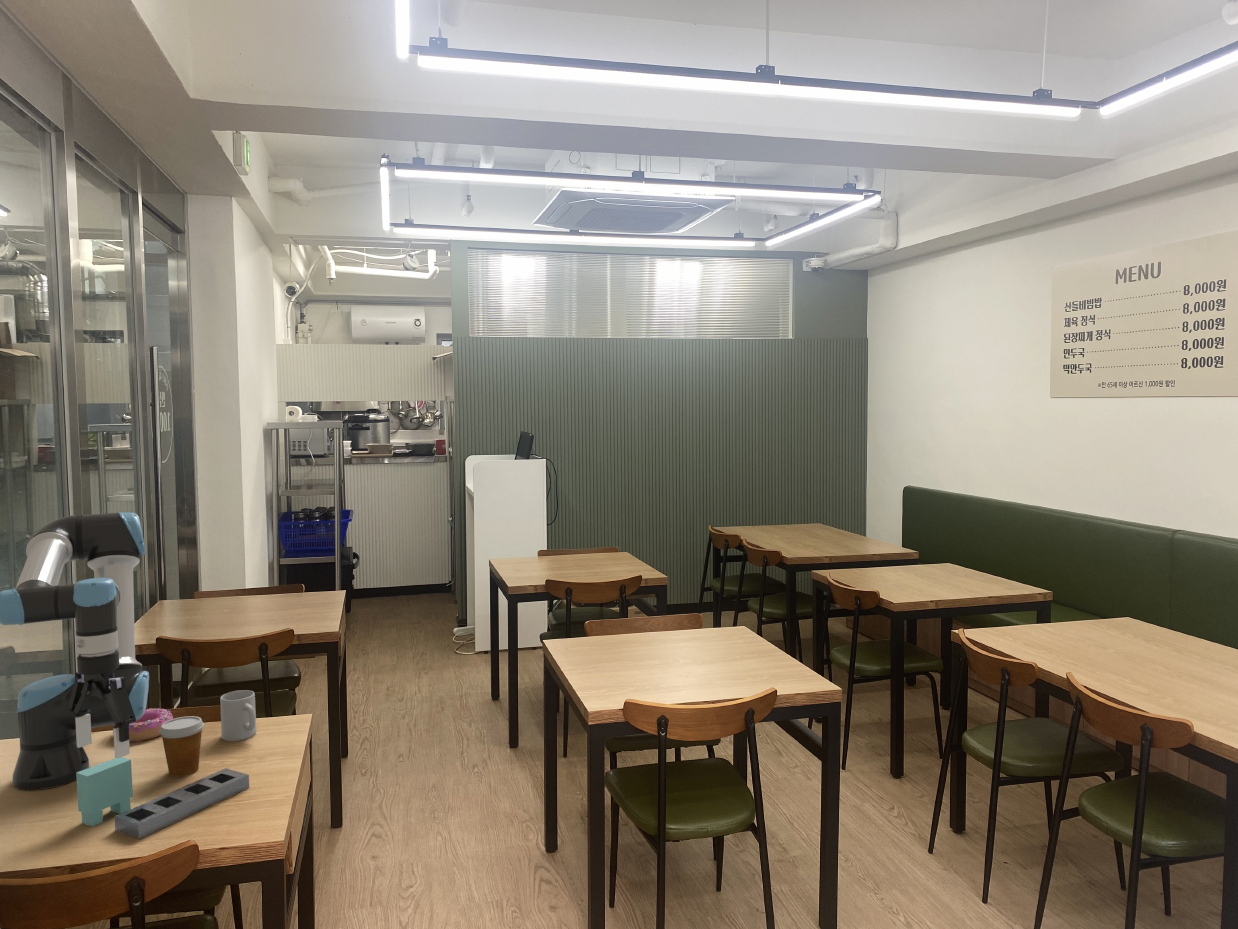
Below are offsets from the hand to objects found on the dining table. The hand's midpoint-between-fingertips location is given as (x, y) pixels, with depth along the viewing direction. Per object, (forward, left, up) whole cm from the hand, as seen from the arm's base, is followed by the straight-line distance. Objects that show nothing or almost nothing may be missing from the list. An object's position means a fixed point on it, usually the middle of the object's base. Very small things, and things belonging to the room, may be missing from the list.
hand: (103, 750), depth 177 cm
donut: (-39, +33, -15) cm, 54 cm away
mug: (-12, +43, -15) cm, 47 cm away
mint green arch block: (0, 0, -15) cm, 15 cm away
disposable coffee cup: (-6, +22, -15) cm, 27 cm away
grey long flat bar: (+12, +10, -15) cm, 21 cm away
